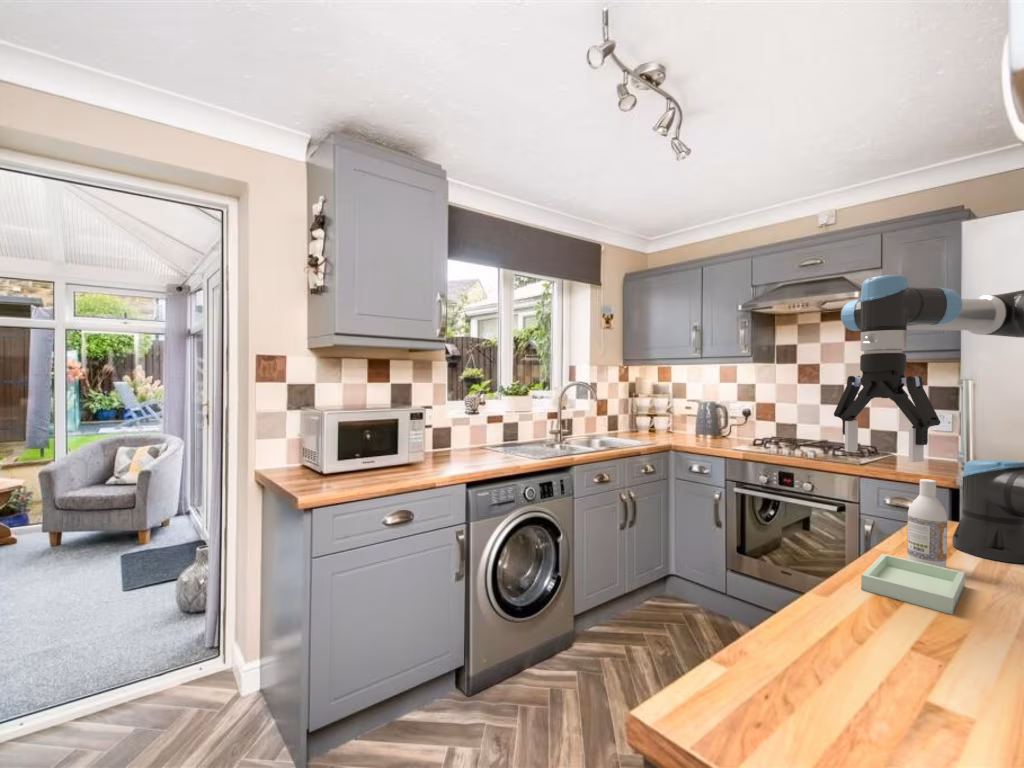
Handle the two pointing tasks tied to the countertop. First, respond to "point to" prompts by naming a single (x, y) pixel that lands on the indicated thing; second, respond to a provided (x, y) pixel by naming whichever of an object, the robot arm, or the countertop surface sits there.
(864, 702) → the countertop surface
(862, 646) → the countertop surface
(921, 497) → the bath foam
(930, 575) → the tray
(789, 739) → the countertop surface
